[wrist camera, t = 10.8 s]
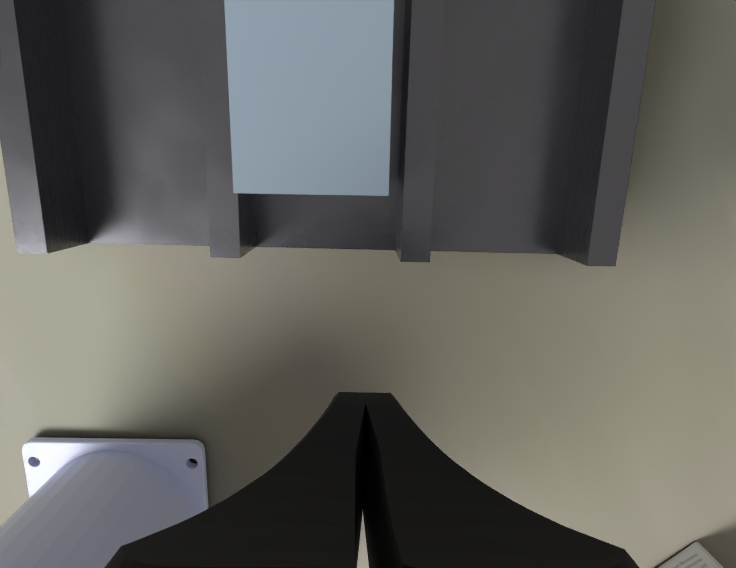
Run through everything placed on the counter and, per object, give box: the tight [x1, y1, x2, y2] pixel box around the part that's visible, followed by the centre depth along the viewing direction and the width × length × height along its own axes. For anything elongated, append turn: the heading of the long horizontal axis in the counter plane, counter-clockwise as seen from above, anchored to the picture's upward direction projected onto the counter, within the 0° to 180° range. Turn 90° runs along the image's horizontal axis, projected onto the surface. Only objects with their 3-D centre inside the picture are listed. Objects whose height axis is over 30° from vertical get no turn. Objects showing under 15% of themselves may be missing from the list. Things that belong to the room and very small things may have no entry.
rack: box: [0, 0, 656, 266], centre depth 16 cm, size 12×21×4 cm, turn 88°
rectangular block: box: [224, 0, 394, 196], centre depth 14 cm, size 7×4×6 cm, turn 179°
